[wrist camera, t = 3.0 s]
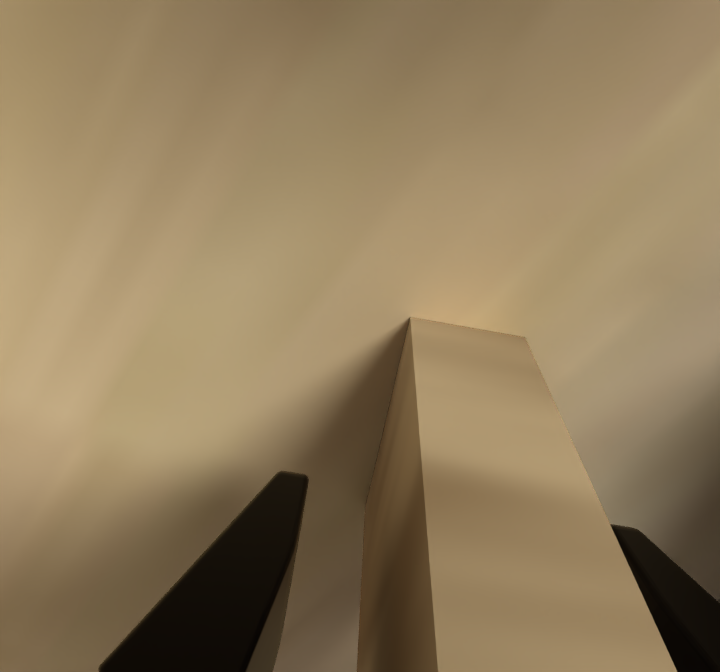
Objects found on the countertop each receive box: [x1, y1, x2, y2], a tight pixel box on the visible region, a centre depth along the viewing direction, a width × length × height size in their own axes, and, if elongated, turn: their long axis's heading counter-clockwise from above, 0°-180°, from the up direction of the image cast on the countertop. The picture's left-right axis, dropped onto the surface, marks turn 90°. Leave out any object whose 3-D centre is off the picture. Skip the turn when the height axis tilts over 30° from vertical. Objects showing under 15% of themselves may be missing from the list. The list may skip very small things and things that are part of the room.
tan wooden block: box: [357, 317, 677, 672], centre depth 7 cm, size 4×2×7 cm, turn 170°
